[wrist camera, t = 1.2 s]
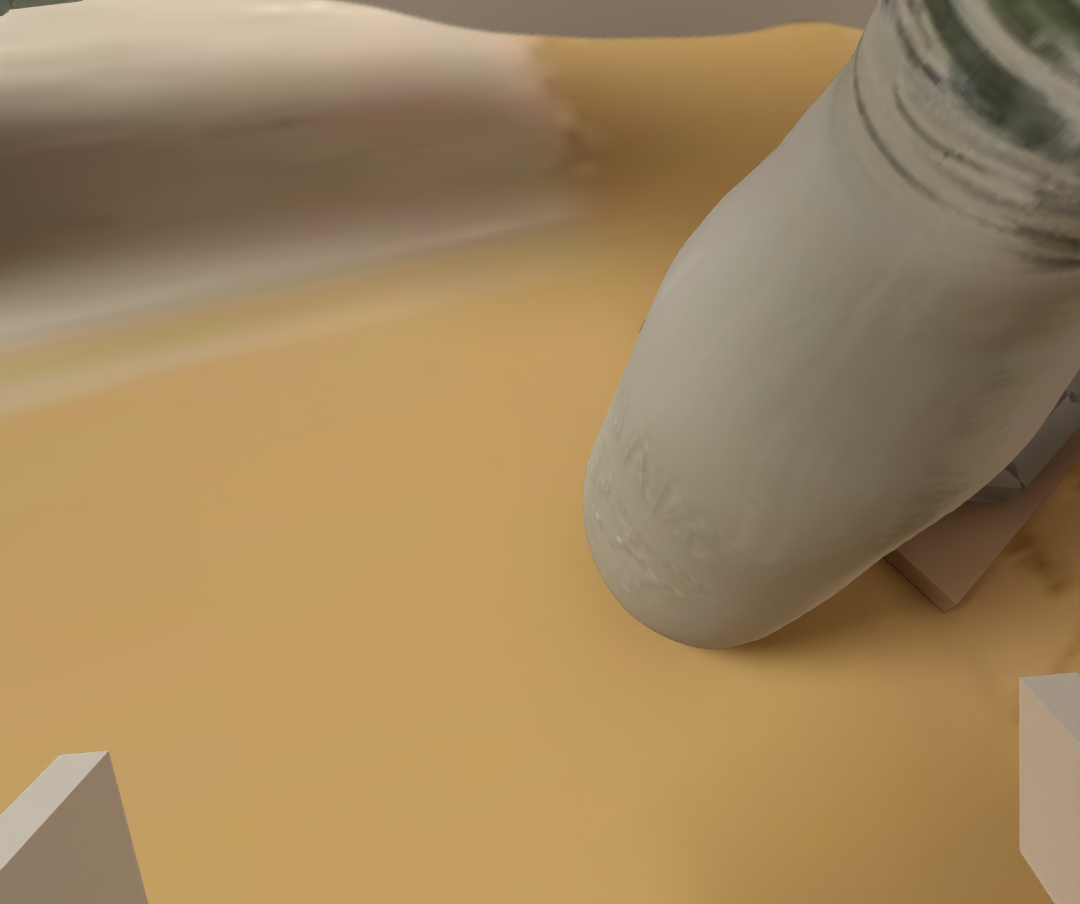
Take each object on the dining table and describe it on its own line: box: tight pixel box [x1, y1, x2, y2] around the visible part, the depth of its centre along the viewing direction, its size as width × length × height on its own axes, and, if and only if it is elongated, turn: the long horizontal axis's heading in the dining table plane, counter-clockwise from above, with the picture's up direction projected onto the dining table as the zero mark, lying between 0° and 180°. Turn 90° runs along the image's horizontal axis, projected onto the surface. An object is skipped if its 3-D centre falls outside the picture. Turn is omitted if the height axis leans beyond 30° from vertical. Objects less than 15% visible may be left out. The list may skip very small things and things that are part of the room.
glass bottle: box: [583, 0, 1080, 649], centre depth 27 cm, size 10×10×28 cm
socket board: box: [639, 320, 1080, 612], centre depth 45 cm, size 18×18×2 cm
